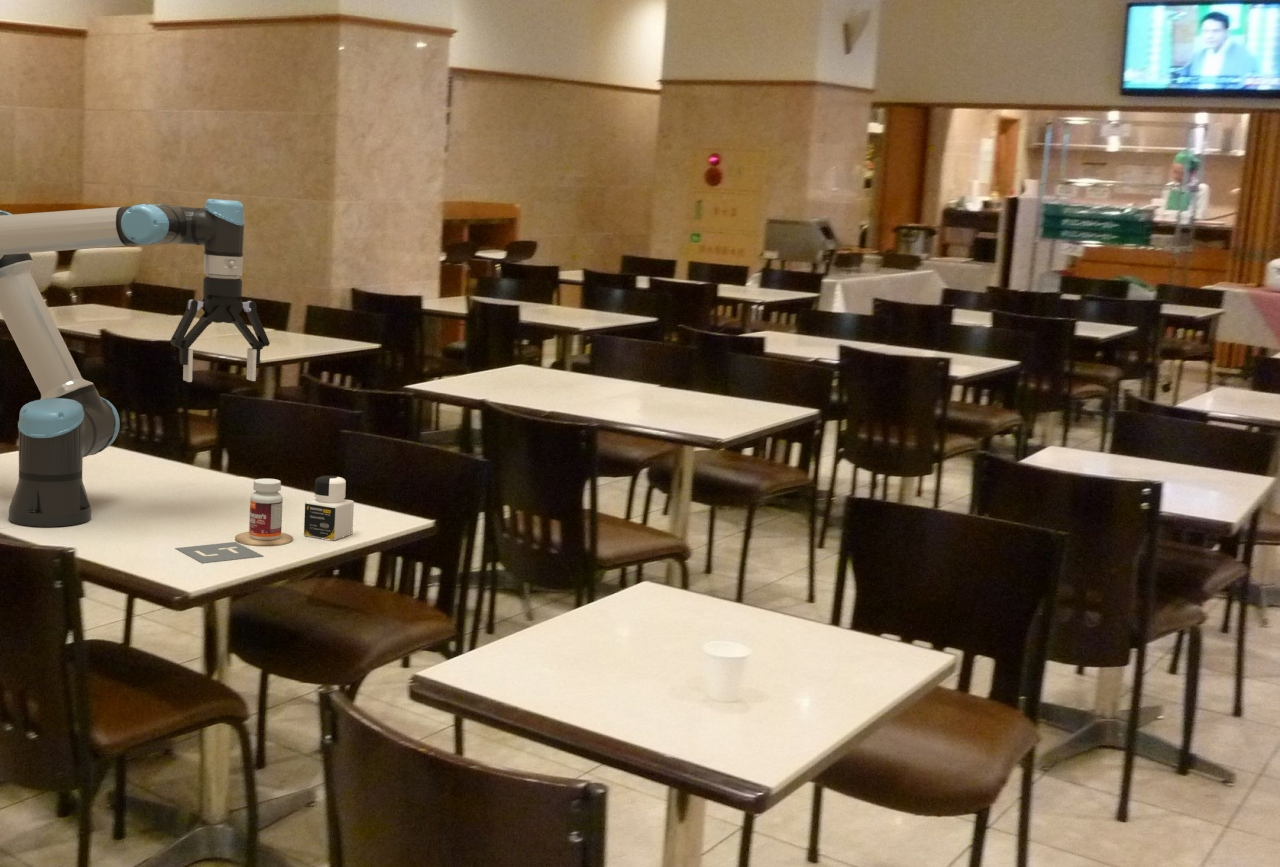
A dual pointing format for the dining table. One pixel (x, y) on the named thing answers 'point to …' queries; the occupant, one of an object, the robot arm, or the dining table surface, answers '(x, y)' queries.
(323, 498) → the medicine bottle
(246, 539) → the coaster
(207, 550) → the tile
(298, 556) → the dining table surface
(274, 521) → the pill bottle
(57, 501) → the robot arm
